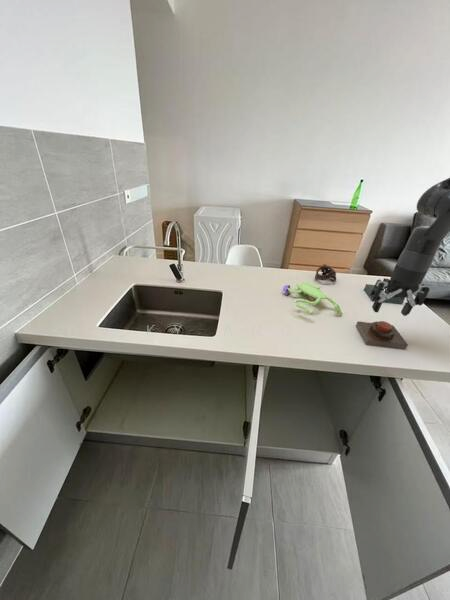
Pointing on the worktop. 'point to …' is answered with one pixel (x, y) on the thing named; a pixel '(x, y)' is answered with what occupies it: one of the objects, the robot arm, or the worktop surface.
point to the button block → (380, 336)
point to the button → (384, 326)
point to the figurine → (312, 292)
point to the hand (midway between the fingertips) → (389, 312)
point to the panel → (369, 289)
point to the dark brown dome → (324, 269)
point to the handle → (386, 286)
